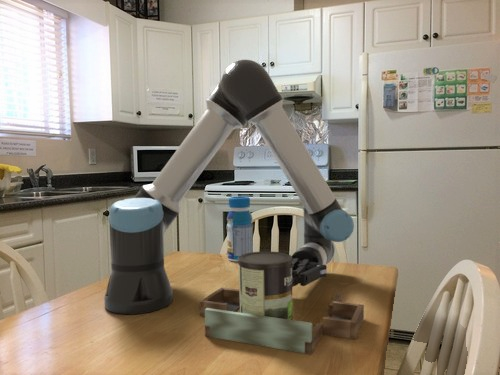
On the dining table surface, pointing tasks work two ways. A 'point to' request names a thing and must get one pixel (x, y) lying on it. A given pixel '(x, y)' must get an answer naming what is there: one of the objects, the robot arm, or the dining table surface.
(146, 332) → the dining table surface
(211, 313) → the wooden tray
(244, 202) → the beverage bottle
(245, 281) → the coffee can
